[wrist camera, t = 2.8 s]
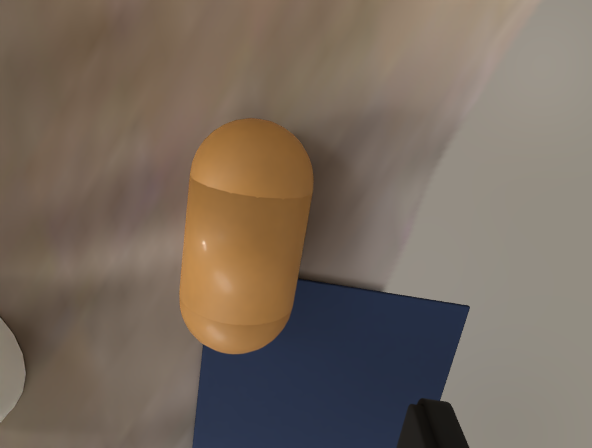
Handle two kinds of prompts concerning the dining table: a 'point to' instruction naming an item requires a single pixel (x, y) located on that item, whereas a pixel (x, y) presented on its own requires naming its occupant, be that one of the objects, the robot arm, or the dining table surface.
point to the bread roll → (244, 234)
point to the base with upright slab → (10, 370)
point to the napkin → (330, 372)
